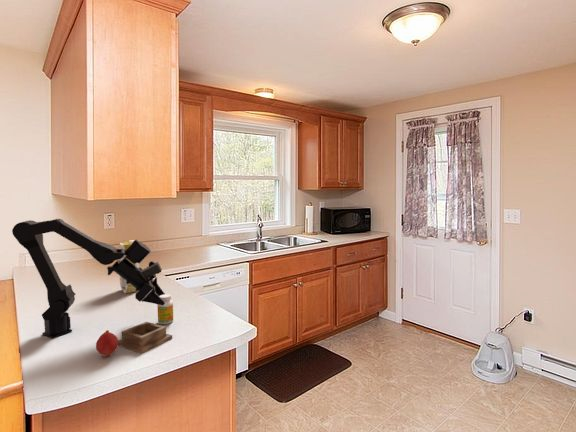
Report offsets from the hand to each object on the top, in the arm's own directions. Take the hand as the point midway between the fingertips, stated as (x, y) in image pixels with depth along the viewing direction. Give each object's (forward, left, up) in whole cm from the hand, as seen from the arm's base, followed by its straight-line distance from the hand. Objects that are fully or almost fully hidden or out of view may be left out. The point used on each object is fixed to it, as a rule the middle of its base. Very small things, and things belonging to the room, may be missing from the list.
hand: (164, 300), depth 129 cm
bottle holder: (-15, -7, -8) cm, 18 cm away
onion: (-27, -6, -8) cm, 29 cm away
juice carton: (+19, +45, -8) cm, 49 cm away
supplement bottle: (0, 0, -8) cm, 8 cm away
